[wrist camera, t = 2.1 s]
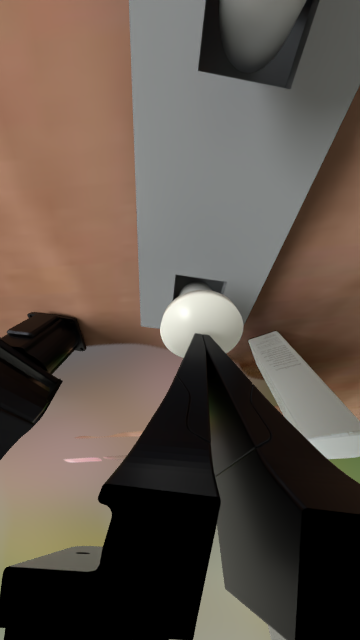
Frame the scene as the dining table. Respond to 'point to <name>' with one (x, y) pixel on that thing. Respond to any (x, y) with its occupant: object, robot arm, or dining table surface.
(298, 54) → the block
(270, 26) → the red plunger
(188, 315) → the white plunger
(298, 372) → the skincare box
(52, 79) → the dining table surface
